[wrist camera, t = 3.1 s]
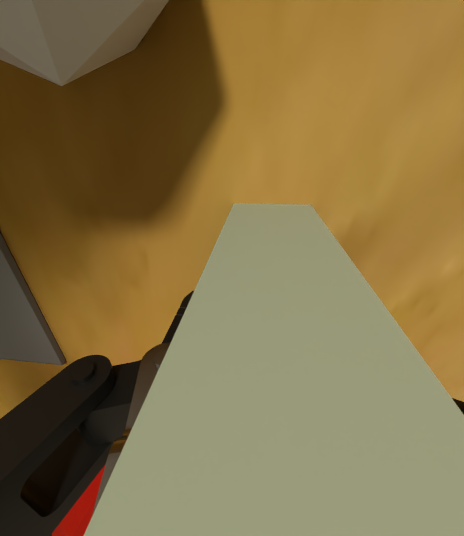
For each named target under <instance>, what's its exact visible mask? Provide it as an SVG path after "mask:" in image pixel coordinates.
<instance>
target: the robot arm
mask: <svg viewBox="0 0 464 536" xmlns="http://www.w3.org/2000/svg"><path fill="white" fill-rule="evenodd" d="M193 293H194V291H192V292H191V293H190V294H188V295H187V296H186V297H185V298H184V299H183V301H182V303H181V306H180V308H179V310H178V312H177V315H176V316H175V318H174V320H173V322H172V324H171V326H170V328H169V330H168V332H167V334H166V336H165V338H164V340H163V342H162V344H160V345H157V346H155V347H153V348H152V349H150V350H149V351H148V352H147V353H146V354H145V355H144V356H143V358H142V360H139V361H136V362H131V363H126V364H121V365H115V366H112V365H111V363H110V360H109V359H108V358H107V357H105V356H102V355H90V356H86V357H83V358H81V359H78V360H76V361H75V362H73V363H71V364H70V365H69V366H67V367H66V368H65V369H63V370H62V371H61V372H60V373H58V374H57V375H56V376H54V377H53V378H52V379H51V380H49V381H48V382H47V383H46V384H44V385H43V386H42V387H40V388H39V389H38V390H37V391H35V392H34V393H33V394H32V395H30V396H29V397H28V398H26V399H25V400H24V401H23V402H21V403H20V404H19V405H18V406H16V407H15V408H14V409H12V410H11V411H10V412H9V413H7V414H6V415H5V416H4V417H2V418H1V419H0V536H50V535H51V534H52V533H53V531H54V530H55V529H56V528H57V526H58V525H59V524H60V522H61V521H62V520H63V519H64V517H65V516H66V515H67V513H68V512H69V511H70V510H71V508H72V507H73V506H74V504H75V503H76V502H77V500H78V499H79V498H80V497H81V495H82V494H83V493H84V491H85V490H86V489H87V488H88V486H89V485H90V484H91V482H92V481H93V480H94V479H95V477H96V476H97V475H98V473H99V472H100V471H101V469H102V468H103V467H104V466H105V469H104V472H103V476H102V480H101V484H100V487H99V491H98V495H97V499H96V502H95V506H94V510H93V514H94V512H95V509H96V507H97V505H98V503H99V500H100V498H101V496H102V494H103V492H104V489H105V487H106V485H107V483H108V481H109V478H110V476H111V474H112V472H113V470H114V467H115V465H116V463H117V461H118V458H119V456H120V454H121V452H122V450H123V447H124V445H125V443H126V441H127V439H128V436H129V434H130V432H131V430H132V427H133V425H134V423H135V421H136V419H137V416H138V414H139V412H140V410H141V408H142V405H143V403H144V401H145V399H146V397H147V394H148V392H149V390H150V388H151V385H152V383H153V381H154V379H155V377H156V374H157V372H158V370H159V368H160V366H161V363H162V361H163V359H164V357H165V355H166V352H167V350H168V348H169V346H170V343H171V341H172V339H173V337H174V335H175V332H176V330H177V328H178V326H179V324H180V321H181V319H182V317H183V315H184V312H185V310H186V308H187V306H188V304H189V301H190V299H191V297H192V295H193ZM452 399H453V398H452ZM453 401H454V402H455V403H456V405H457V406H458V407H459V409H460V410H461V412H462V413H463V414H464V402H462V401H459V400H456V399H453ZM105 464H106V465H105ZM93 514H92V516H93ZM91 518H92V517H91Z"/></svg>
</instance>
